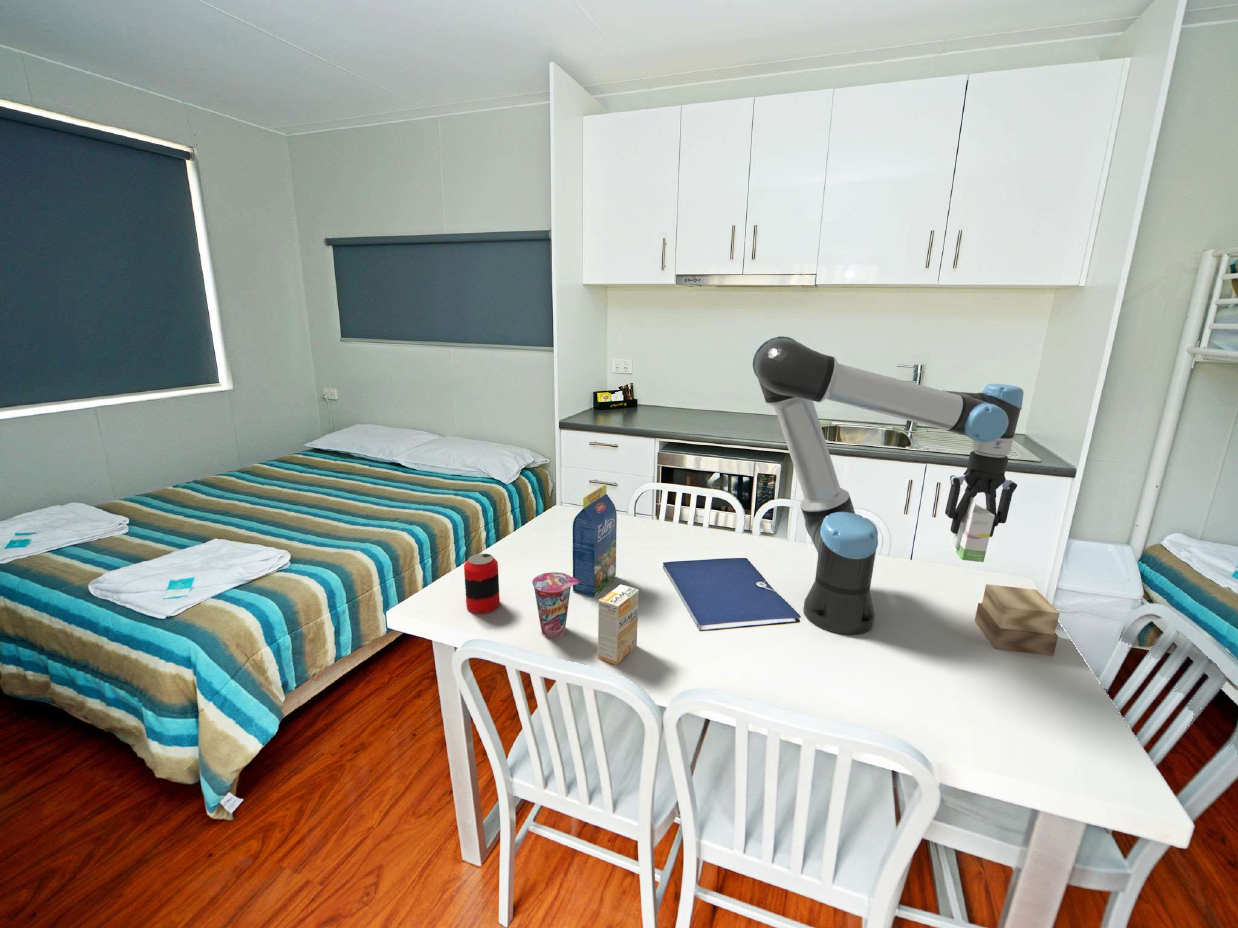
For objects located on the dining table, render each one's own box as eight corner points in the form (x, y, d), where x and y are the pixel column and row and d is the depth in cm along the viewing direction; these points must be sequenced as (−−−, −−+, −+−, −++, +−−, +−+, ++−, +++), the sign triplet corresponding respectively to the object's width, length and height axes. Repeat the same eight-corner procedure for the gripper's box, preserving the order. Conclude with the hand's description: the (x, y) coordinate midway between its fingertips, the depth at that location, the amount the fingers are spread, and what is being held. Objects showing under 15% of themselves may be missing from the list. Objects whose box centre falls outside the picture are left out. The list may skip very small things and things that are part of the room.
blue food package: (572, 591, 141) (571, 495, 134) (594, 571, 151) (595, 481, 144) (594, 597, 138) (595, 500, 131) (616, 576, 149) (617, 485, 142)
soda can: (506, 601, 136) (504, 555, 132) (486, 617, 129) (483, 568, 126) (480, 594, 139) (477, 549, 135) (459, 609, 132) (456, 562, 129)
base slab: (994, 650, 121) (998, 629, 119) (974, 622, 131) (978, 602, 130) (1052, 657, 119) (1058, 635, 117) (1027, 628, 129) (1032, 608, 127)
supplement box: (617, 666, 113) (618, 606, 109) (597, 657, 115) (597, 599, 112) (638, 645, 120) (639, 589, 116) (618, 638, 122) (619, 582, 118)
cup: (541, 646, 119) (540, 594, 115) (528, 625, 126) (526, 576, 123) (582, 635, 123) (582, 584, 120) (567, 616, 130) (567, 568, 127)
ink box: (984, 563, 133) (999, 503, 128) (961, 560, 134) (975, 500, 129) (970, 548, 141) (984, 491, 137) (948, 545, 142) (961, 489, 138)
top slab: (999, 628, 120) (1004, 606, 118) (981, 604, 129) (986, 584, 128) (1054, 634, 118) (1059, 613, 116) (1031, 609, 127) (1036, 589, 126)
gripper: (952, 453, 128) (932, 549, 135) (1042, 461, 125) (1016, 558, 132) (941, 445, 135) (922, 536, 142) (1025, 452, 132) (1002, 545, 139)
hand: (967, 547), depth 137 cm, fingers closed on ink box, 5 cm apart
